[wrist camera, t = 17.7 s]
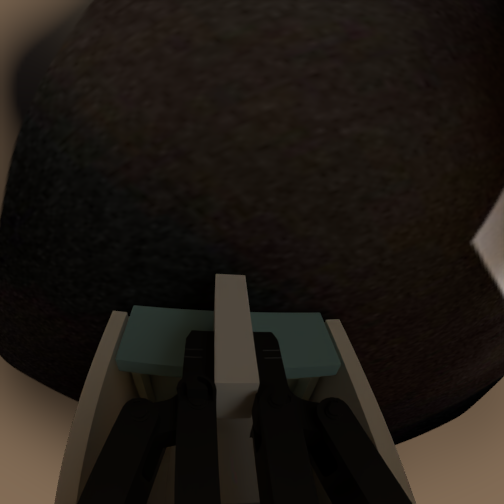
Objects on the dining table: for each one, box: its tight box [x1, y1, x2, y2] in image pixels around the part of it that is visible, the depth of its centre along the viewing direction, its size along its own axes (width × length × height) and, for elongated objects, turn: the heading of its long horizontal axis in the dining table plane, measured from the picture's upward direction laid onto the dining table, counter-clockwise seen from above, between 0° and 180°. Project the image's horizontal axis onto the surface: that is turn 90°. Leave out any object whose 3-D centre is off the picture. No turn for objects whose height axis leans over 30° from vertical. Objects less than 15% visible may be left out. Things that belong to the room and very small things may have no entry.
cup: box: [164, 415, 260, 504], centre depth 15 cm, size 8×8×10 cm
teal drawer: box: [115, 305, 341, 403], centre depth 18 cm, size 15×12×5 cm
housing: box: [55, 311, 416, 504], centre depth 15 cm, size 15×15×14 cm
